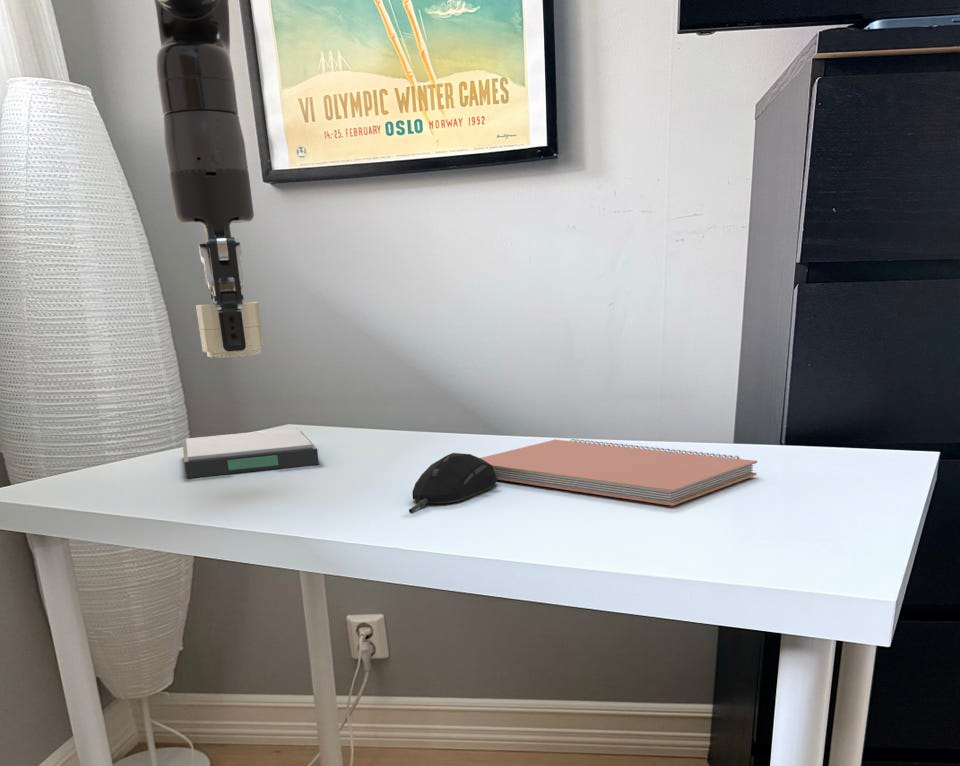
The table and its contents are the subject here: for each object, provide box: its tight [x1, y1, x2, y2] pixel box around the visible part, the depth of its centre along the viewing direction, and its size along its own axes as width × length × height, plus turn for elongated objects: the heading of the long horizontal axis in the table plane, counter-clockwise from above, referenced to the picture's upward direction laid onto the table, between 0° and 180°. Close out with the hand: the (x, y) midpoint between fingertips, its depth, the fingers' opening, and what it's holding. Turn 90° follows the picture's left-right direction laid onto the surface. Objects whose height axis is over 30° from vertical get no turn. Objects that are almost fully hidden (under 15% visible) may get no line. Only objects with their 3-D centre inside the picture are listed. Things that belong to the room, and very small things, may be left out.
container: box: [195, 301, 265, 358], centre depth 96 cm, size 6×6×5 cm
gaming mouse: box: [408, 452, 498, 514], centre depth 96 cm, size 6×15×4 cm, turn 152°
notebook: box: [480, 438, 758, 506], centre depth 101 cm, size 27×17×2 cm, turn 46°
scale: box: [182, 427, 320, 479], centre depth 121 cm, size 16×16×2 cm
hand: (233, 348), depth 96 cm, fingers closed on container, 6 cm apart
